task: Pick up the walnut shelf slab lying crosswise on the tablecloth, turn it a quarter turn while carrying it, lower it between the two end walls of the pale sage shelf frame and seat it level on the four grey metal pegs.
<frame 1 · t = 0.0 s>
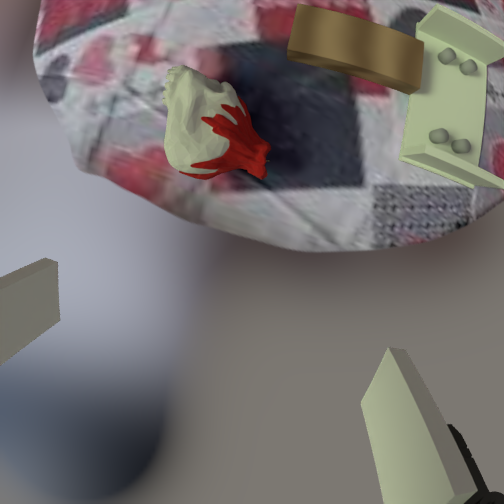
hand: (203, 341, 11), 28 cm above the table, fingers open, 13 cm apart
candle: (220, 136, 36), on the table
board: (354, 53, 31), on the table
shelf frame: (449, 101, 31), on the table
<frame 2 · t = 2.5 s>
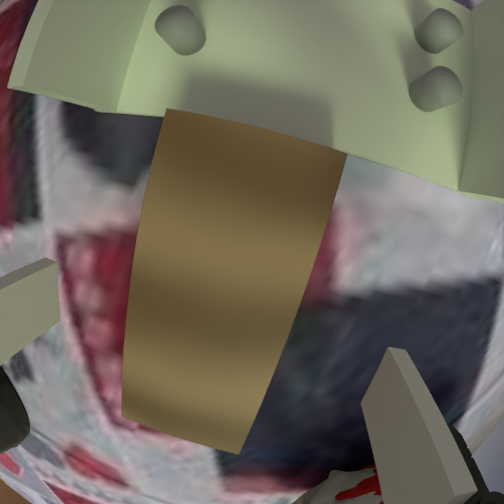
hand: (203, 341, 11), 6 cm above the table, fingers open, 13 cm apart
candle: (370, 470, 19), on the table
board: (220, 288, 16), on the table
shelf frame: (314, 33, 12), on the table
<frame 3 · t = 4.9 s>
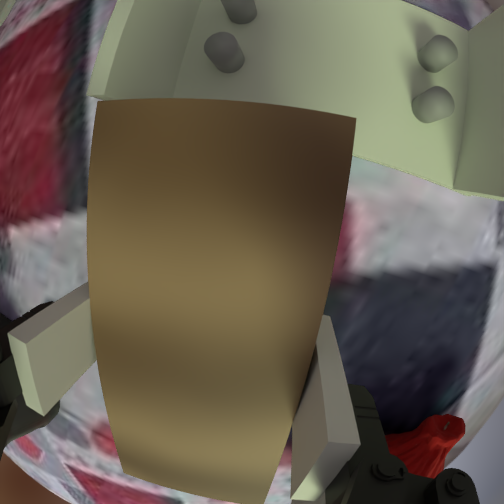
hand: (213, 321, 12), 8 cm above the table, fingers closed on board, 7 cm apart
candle: (380, 444, 22), on the table
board: (216, 321, 13), point 7 cm above the table, touching gripper
shelf frame: (334, 56, 15), on the table
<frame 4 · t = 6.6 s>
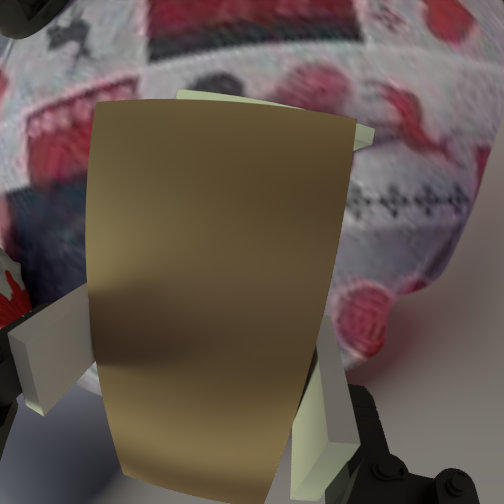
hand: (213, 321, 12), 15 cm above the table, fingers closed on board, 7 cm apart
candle: (21, 289, 31), on the table
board: (216, 322, 13), point 14 cm above the table, touching gripper
shelf frame: (253, 240, 26), on the table
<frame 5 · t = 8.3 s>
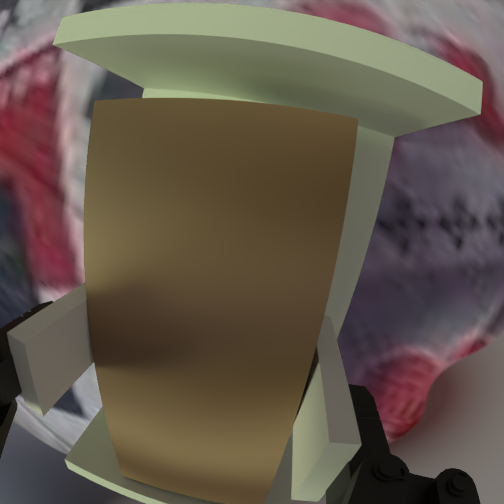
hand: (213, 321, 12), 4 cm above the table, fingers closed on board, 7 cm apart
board: (215, 323, 13), point 3 cm above the table, touching gripper, shelf frame
shelf frame: (227, 287, 15), on the table
when the fingers open (3 cm above the table, at t = 8.8 s): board stays where it is, resting on shelf frame.
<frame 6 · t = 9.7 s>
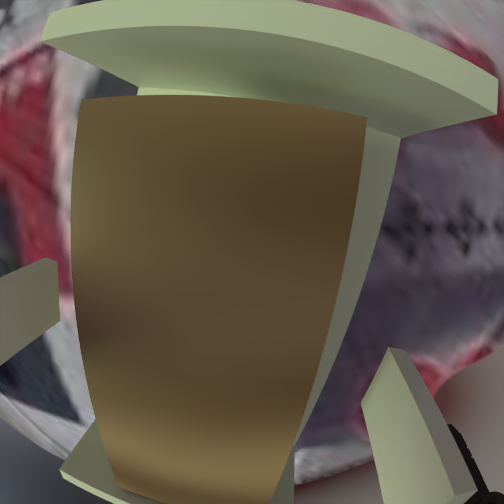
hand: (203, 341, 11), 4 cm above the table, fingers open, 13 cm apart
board: (212, 334, 12), point 3 cm above the table, touching shelf frame
shelf frame: (226, 295, 15), on the table
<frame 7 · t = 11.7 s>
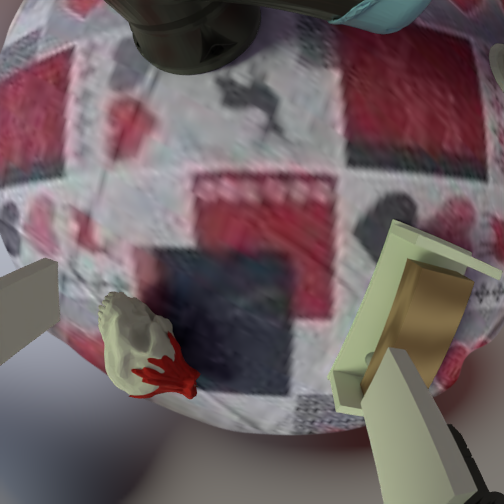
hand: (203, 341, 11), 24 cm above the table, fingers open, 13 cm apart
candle: (159, 341, 38), on the table
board: (410, 331, 31), point 3 cm above the table, touching shelf frame
shelf frame: (402, 317, 34), on the table
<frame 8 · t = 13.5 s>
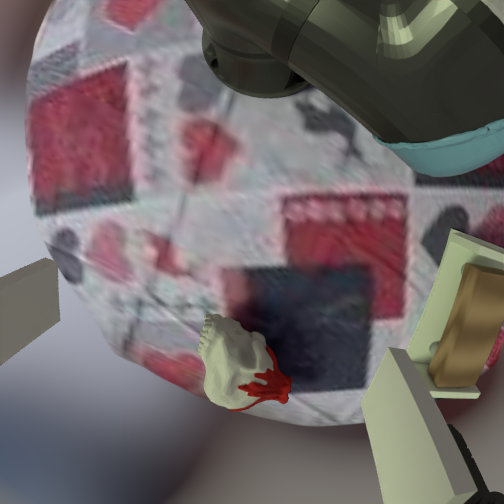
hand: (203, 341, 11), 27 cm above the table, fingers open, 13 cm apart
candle: (247, 353, 41), on the table
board: (466, 322, 33), point 3 cm above the table, touching shelf frame
shelf frame: (457, 310, 36), on the table
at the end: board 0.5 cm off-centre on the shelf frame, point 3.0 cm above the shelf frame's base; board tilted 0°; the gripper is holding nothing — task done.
